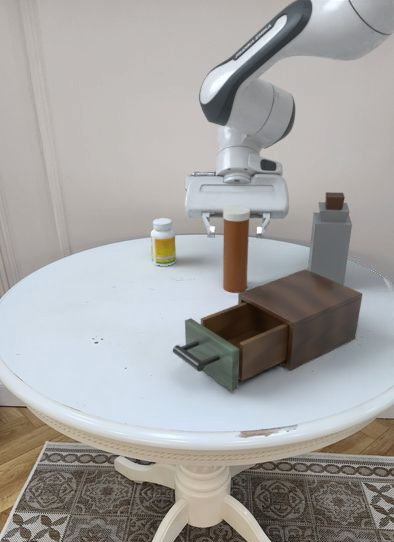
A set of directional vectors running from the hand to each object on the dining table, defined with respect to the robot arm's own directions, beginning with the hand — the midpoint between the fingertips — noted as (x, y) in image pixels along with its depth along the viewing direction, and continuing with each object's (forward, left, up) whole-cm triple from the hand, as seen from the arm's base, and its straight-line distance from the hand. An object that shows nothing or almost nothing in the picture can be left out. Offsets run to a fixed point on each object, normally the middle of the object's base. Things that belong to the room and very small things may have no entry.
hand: (235, 236), depth 103 cm
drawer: (-22, +19, -10) cm, 31 cm away
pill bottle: (0, 0, -11) cm, 11 cm away
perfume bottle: (-10, -16, -11) cm, 22 cm away
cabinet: (-22, +5, -11) cm, 25 cm away
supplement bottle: (+20, +4, -11) cm, 23 cm away
